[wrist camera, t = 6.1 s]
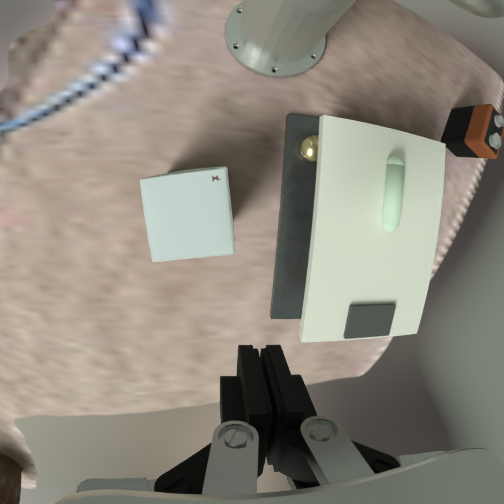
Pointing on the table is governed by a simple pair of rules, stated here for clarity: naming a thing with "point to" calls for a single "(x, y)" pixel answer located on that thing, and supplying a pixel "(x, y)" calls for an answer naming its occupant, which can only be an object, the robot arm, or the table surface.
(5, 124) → the table surface
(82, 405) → the table surface
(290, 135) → the tribrach base
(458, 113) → the battery
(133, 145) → the table surface
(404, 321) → the level plate
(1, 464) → the plant pot
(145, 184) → the supplement box
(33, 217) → the table surface
